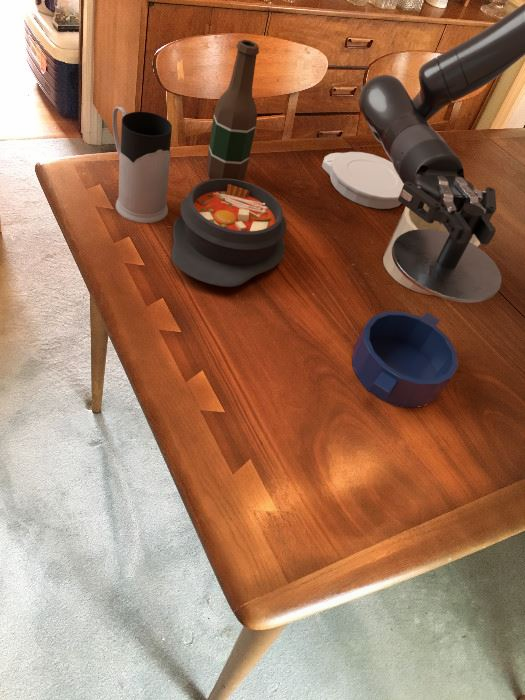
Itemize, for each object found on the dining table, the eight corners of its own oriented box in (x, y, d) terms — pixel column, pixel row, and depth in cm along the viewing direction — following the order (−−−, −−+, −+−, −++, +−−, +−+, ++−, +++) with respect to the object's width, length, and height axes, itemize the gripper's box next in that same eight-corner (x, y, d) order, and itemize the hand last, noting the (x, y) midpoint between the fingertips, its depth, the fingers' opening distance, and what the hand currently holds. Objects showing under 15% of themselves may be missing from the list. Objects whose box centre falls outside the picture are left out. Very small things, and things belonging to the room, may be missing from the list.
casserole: (206, 193, 102) (213, 151, 96) (300, 230, 100) (313, 189, 94) (141, 267, 85) (144, 221, 79) (253, 312, 83) (265, 269, 77)
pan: (458, 359, 86) (475, 336, 82) (413, 437, 73) (430, 413, 70) (382, 314, 89) (395, 289, 85) (326, 381, 77) (338, 356, 73)
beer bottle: (230, 161, 112) (254, 32, 94) (252, 182, 108) (281, 52, 91) (197, 166, 107) (216, 33, 90) (219, 188, 104) (243, 54, 87)
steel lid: (513, 274, 75) (550, 217, 69) (470, 323, 66) (507, 263, 60) (421, 223, 80) (447, 165, 74) (369, 262, 71) (393, 200, 65)
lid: (351, 151, 126) (355, 138, 124) (421, 197, 118) (427, 184, 116) (301, 168, 116) (305, 155, 113) (375, 219, 108) (380, 206, 106)
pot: (465, 271, 103) (492, 226, 95) (439, 306, 94) (467, 260, 87) (400, 236, 106) (422, 190, 99) (370, 267, 97) (392, 219, 90)
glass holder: (132, 228, 91) (136, 142, 80) (90, 182, 97) (88, 96, 86) (177, 216, 95) (187, 133, 85) (134, 173, 101) (138, 91, 91)
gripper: (387, 133, 73) (437, 208, 62) (480, 142, 77) (543, 214, 65) (370, 184, 79) (413, 261, 67) (457, 190, 82) (512, 264, 71)
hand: (477, 237), depth 66 cm, fingers closed on steel lid, 2 cm apart
